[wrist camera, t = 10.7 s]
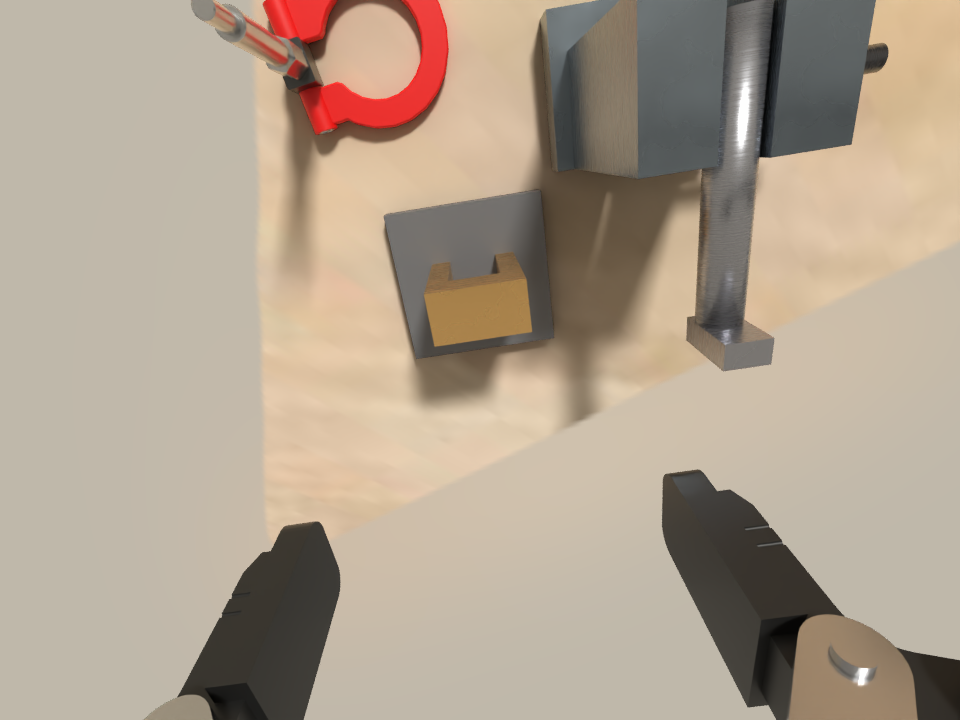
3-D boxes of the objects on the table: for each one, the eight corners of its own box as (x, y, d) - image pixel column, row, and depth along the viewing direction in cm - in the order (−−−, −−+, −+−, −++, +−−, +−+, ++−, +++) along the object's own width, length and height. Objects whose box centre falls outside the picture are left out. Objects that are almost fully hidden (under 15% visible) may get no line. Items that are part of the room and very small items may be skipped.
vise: (807, -28, 26) (1175, -218, 12) (774, 257, 32) (991, 331, 19) (540, 19, 26) (618, -117, 13) (561, 290, 33) (628, 385, 19)
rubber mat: (538, 189, 30) (540, 190, 29) (551, 332, 34) (554, 338, 33) (386, 214, 30) (383, 216, 29) (417, 352, 34) (416, 358, 33)
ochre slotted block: (513, 251, 30) (526, 278, 24) (518, 295, 31) (532, 331, 25) (432, 264, 30) (423, 294, 24) (440, 307, 32) (434, 346, 25)
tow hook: (419, -68, 25) (258, -10, 25) (400, -270, 13) (99, -156, 13) (466, 103, 28) (324, 151, 29) (485, 66, 16) (243, 149, 17)
